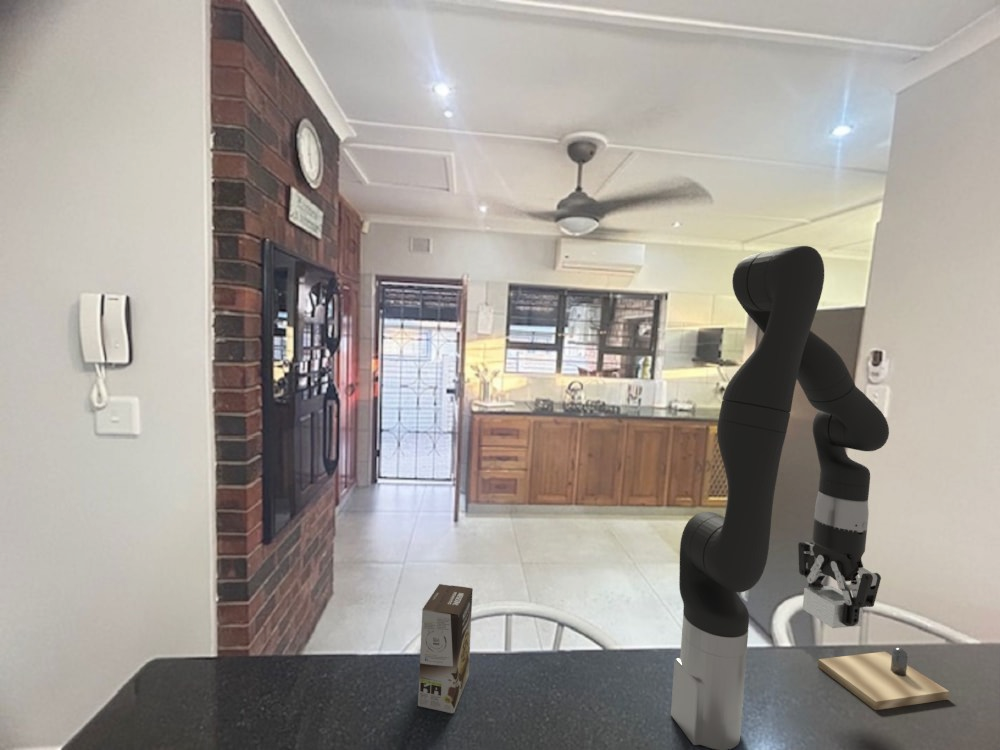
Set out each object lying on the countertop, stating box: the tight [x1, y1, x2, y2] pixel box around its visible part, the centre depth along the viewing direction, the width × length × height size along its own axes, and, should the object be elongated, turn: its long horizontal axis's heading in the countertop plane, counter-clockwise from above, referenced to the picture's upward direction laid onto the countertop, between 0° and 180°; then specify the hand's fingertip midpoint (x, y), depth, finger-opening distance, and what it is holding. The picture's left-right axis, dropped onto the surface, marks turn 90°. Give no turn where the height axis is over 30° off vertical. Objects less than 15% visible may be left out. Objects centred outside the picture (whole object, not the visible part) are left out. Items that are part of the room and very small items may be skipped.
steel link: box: [802, 585, 864, 629], centre depth 82 cm, size 6×6×4 cm
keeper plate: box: [817, 646, 950, 711], centre depth 86 cm, size 16×11×6 cm
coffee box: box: [417, 583, 473, 714], centre depth 78 cm, size 9×6×16 cm
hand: (831, 613), depth 82 cm, fingers closed on steel link, 6 cm apart
